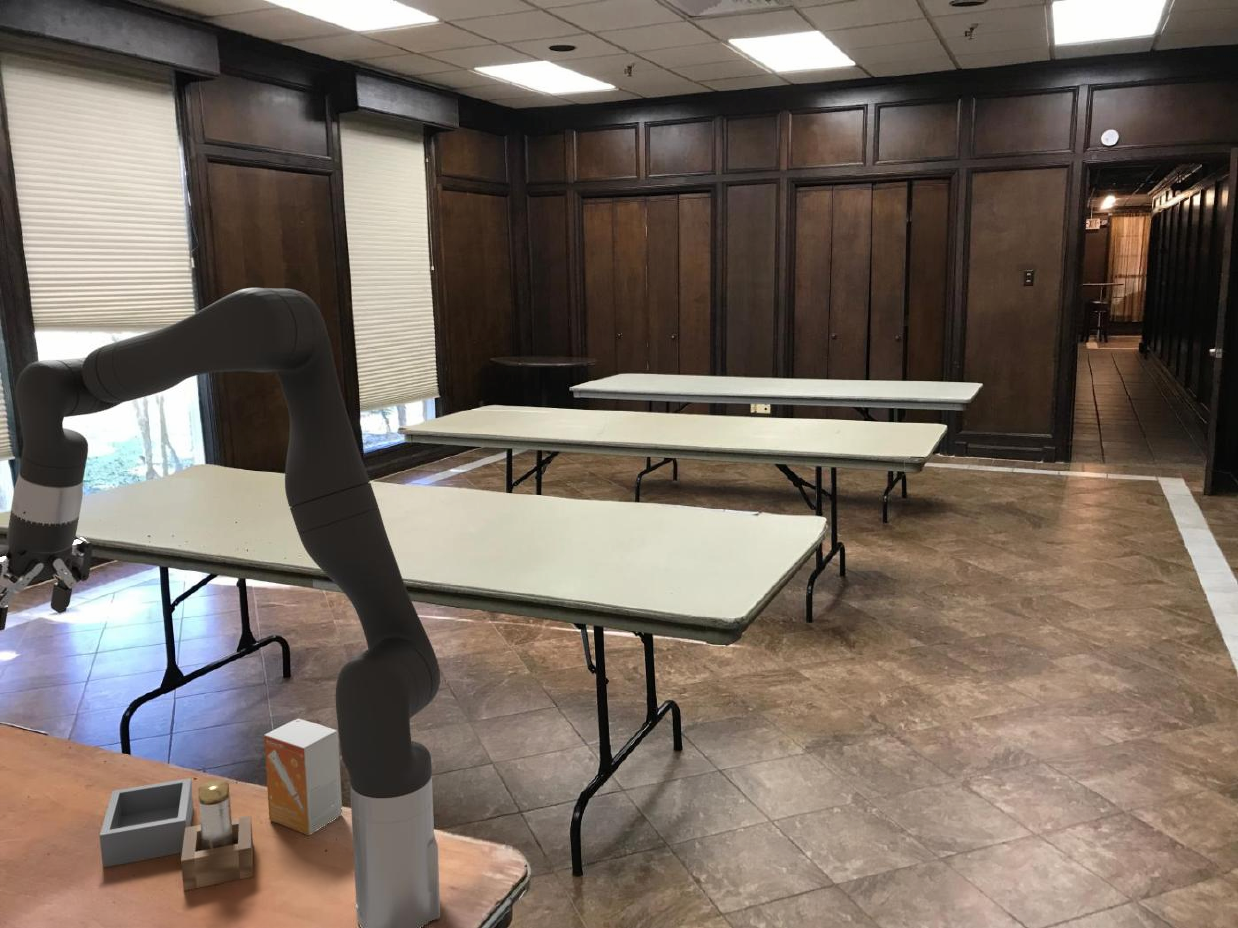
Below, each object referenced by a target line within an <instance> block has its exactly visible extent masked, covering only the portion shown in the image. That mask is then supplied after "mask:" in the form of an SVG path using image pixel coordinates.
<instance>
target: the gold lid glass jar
mask: <svg viewBox="0 0 1238 928" xmlns="http://www.w3.org/2000/svg"><path fill="white" fill-rule="evenodd" d="M197 790H198V791H197V795H198V804H199V817H200V825H201V832H202V845H203V850H208V849H213V848H218V847H223V846H229V845H233V833H232V819H233V818H232V810H231V809H232V808H231V796H230V795H231V793H230V782H229V781H228V780H225V779H214V780H209V781H207V782H204V783H202V784H201V785H199V787H198V789H197Z"/></svg>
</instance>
